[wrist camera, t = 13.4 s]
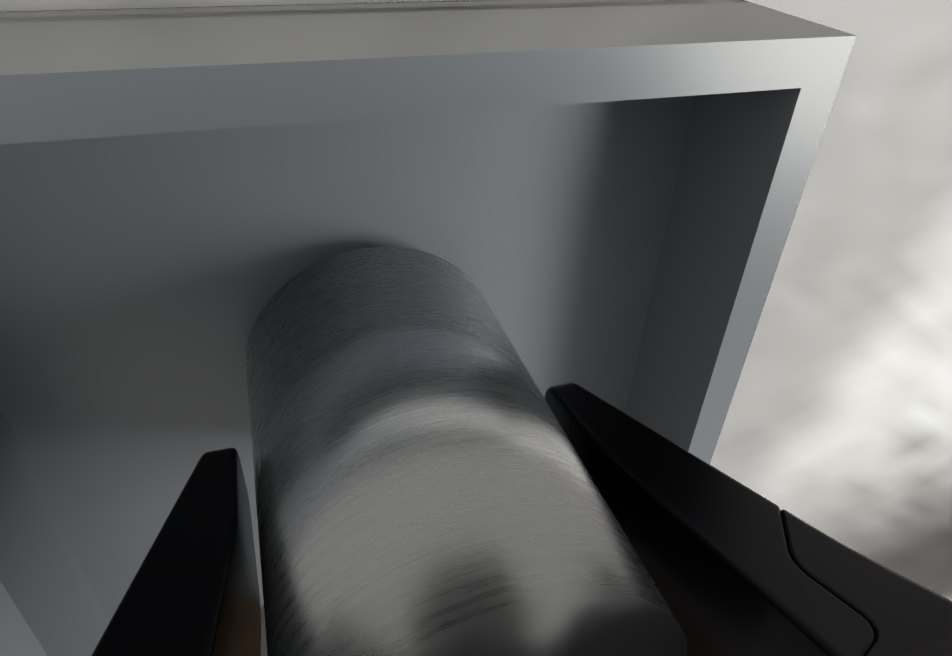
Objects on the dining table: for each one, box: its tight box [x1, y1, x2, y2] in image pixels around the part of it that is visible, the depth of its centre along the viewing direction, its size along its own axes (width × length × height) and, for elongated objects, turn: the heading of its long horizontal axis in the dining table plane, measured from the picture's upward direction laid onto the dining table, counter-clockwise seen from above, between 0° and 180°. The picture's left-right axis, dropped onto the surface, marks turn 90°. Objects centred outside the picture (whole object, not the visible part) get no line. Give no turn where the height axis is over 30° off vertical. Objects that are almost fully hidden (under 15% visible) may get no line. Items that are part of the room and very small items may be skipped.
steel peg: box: [246, 246, 688, 656], centre depth 9 cm, size 4×4×6 cm
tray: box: [0, 0, 856, 656], centre depth 14 cm, size 20×12×3 cm, turn 178°
